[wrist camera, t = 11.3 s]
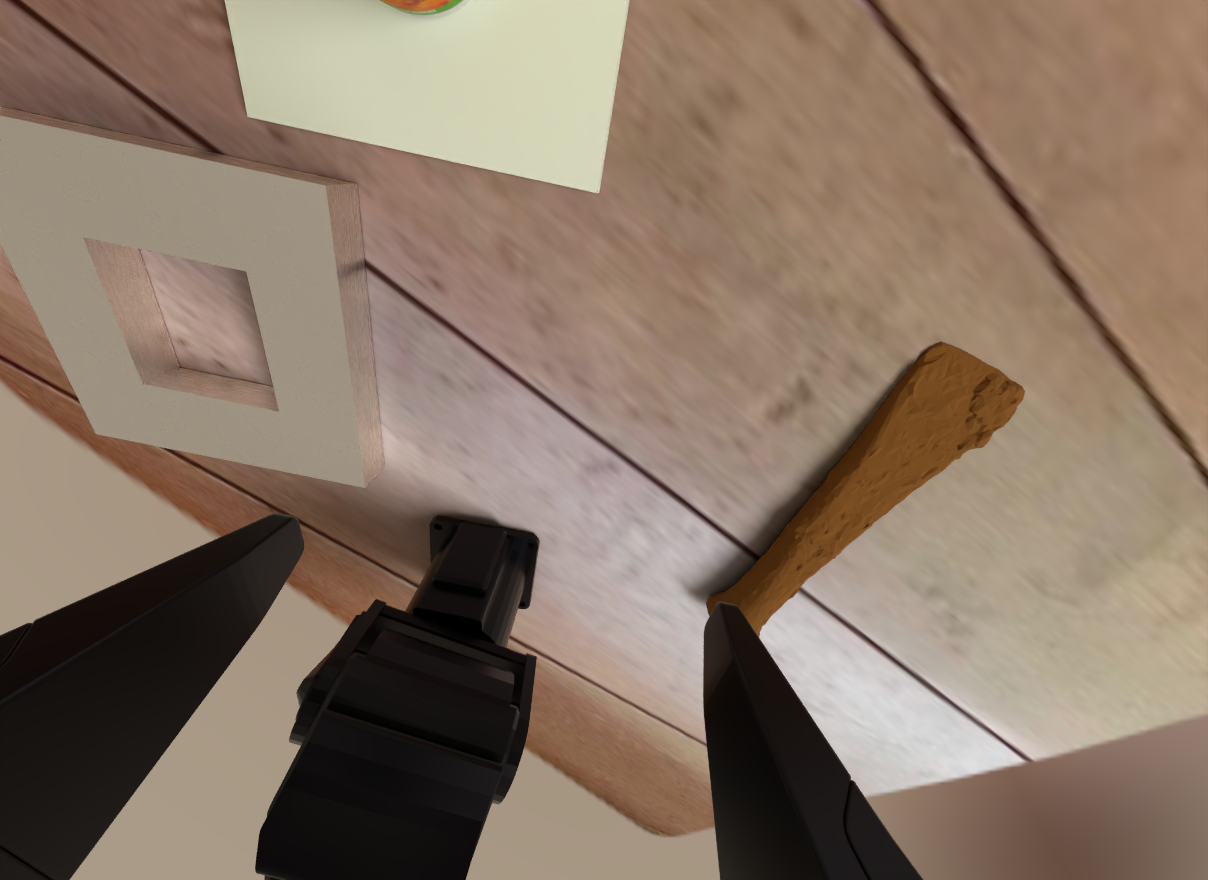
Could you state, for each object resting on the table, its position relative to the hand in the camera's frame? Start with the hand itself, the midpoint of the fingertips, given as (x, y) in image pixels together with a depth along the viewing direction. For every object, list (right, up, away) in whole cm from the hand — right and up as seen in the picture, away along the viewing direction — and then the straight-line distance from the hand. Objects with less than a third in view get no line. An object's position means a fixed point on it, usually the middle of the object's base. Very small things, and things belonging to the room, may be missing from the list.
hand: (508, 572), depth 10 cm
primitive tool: (+14, 0, +15) cm, 20 cm away
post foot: (-16, +9, +12) cm, 22 cm away
